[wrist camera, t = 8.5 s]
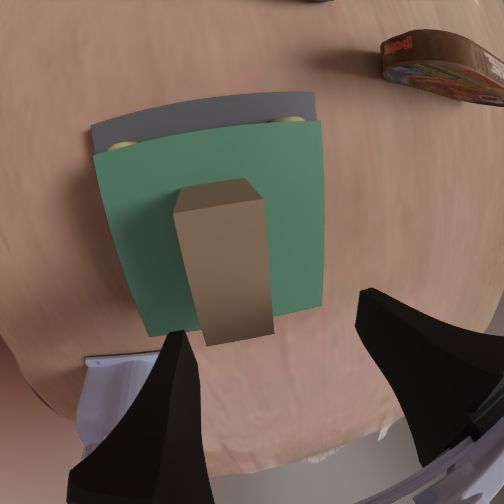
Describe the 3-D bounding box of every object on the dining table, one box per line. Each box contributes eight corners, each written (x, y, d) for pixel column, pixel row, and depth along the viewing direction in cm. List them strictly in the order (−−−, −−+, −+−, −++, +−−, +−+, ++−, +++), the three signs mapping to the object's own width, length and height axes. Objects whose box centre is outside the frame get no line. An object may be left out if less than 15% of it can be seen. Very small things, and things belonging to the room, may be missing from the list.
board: (151, 326, 16) (142, 387, 12) (99, 153, 11) (52, 169, 7) (316, 297, 18) (348, 348, 13) (312, 120, 13) (365, 121, 8)
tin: (361, 77, 15) (445, 66, 8) (356, 40, 14) (435, 14, 7) (472, 105, 17) (536, 117, 10) (470, 78, 16) (533, 84, 8)
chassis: (143, 306, 20) (135, 340, 17) (96, 125, 14) (69, 126, 10) (314, 275, 22) (335, 304, 18) (308, 93, 16) (335, 86, 12)
